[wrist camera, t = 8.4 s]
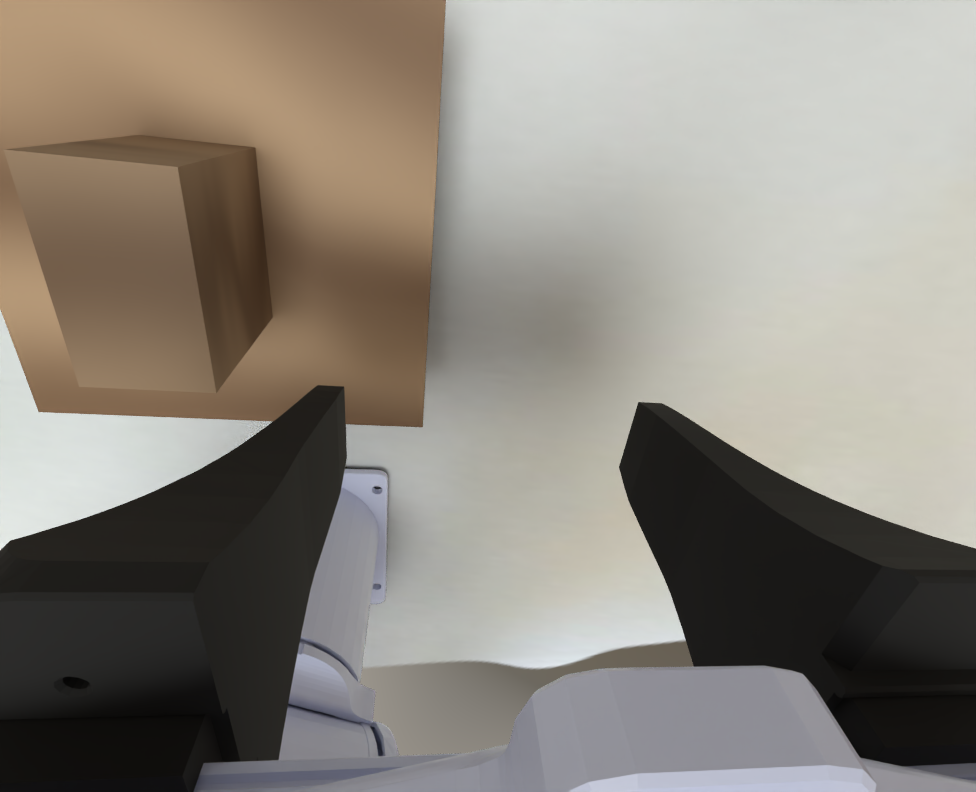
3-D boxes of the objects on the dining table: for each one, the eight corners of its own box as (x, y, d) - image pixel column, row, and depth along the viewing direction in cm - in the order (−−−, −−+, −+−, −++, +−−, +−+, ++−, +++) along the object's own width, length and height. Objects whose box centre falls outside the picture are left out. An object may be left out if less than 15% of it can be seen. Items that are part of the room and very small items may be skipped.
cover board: (422, 418, 20) (419, 521, 15) (50, 403, 18) (-91, 513, 13) (445, -2, 13) (452, -60, 9) (-126, -88, 12) (-519, -222, 7)
